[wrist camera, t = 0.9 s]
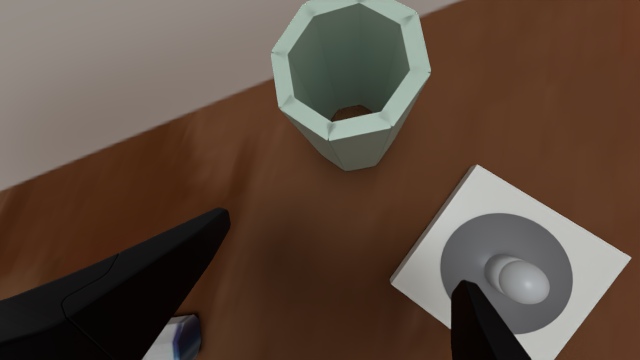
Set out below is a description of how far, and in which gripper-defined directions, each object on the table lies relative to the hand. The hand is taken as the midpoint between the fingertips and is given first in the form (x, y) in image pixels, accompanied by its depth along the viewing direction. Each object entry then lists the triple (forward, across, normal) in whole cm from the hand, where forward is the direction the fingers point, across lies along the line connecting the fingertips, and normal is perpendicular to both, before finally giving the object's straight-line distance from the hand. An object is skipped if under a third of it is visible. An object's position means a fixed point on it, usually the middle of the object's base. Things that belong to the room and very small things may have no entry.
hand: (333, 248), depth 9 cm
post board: (+10, -12, +9) cm, 18 cm away
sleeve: (+15, +2, +2) cm, 15 cm away
